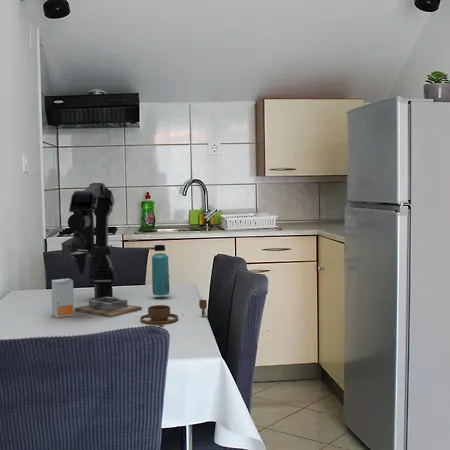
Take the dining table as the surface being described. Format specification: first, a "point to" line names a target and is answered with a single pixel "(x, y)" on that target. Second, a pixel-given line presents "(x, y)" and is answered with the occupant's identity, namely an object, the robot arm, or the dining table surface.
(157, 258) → the beverage bottle
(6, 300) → the dining table surface
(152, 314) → the place setting
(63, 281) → the skincare box
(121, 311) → the duct collar
